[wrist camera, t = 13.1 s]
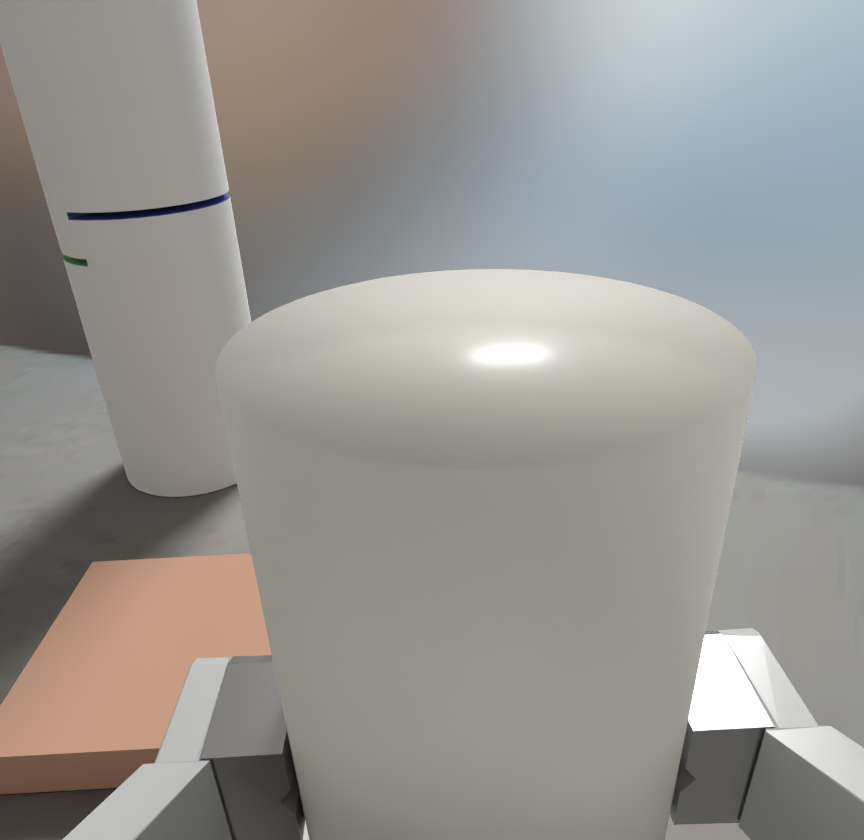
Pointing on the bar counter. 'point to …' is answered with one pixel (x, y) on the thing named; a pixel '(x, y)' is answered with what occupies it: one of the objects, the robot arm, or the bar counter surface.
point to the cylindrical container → (137, 218)
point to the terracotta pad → (122, 667)
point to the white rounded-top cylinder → (486, 544)
